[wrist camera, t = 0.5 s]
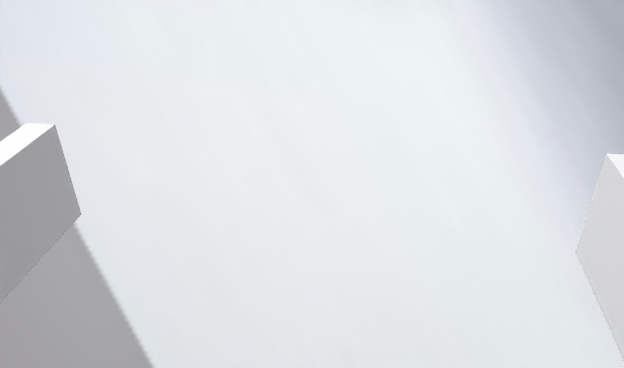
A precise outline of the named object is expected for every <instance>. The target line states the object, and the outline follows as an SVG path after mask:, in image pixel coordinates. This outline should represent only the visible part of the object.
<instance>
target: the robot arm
mask: <svg viewBox="0 0 624 368" xmlns="http://www.w3.org/2000/svg"><path fill="white" fill-rule="evenodd" d="M80 215H81V212H80V208H79V205H78V202H77V198H76V195H75V191H74V188H73V185H72V181H71V178H70V174H69V171H68V167H67V164H66V161H65V157H64V154H63V150H62V147H61V144H60V140H59V137H58V133H57V130H56V126H55V124H37V123H26V124H25V125H23V126H22V127H21V128H19V129H18V130H16V131H15V132H14V133H12V134H11V135H9V136H8V137H6V138H5V139H3V140H2V141H1V142H0V303H1V302H2V301H3V300H4V299H5V298H6V297H7V296H8V294H9V293H10V292H11V291H12V290H13V289H14V288H15V287H16V286H17V284H18V283H19V282H20V281H21V280H22V279H23V278H24V276H26V275H27V274H28V272H29V271H30V270H31V269H32V268H33V267H34V266H35V265H36V264H37V263H38V261H39V260H40V259H41V258H42V257H43V256H44V255H45V254H46V253H47V251H48V250H49V249H50V248H51V247H52V246H53V245H54V244H55V243H56V242H57V240H58V239H59V238H60V237H61V236H62V235H63V234H64V233H65V232H66V231H67V229H68V228H69V227H70V226H71V225H72V224H73V223H74V222H75V221H76V220H77V218H78V217H79V216H80ZM576 254H577V256H578V259H579V261H580V263H581V265H582V268H583V270H584V272H585V274H586V277H587V279H588V281H589V283H590V286H591V288H592V290H593V292H594V295H595V297H596V299H597V301H598V304H599V306H600V308H601V310H602V312H603V315H604V317H605V319H606V321H607V324H608V326H609V328H610V330H611V333H612V335H613V337H614V339H615V342H616V344H617V346H618V348H619V351H620V353H621V355H622V357H623V359H624V154H606V156H605V160H604V163H603V166H602V169H601V172H600V175H599V179H598V182H597V185H596V188H595V191H594V195H593V198H592V201H591V204H590V207H589V210H588V214H587V217H586V220H585V223H584V226H583V229H582V233H581V236H580V239H579V242H578V245H577V249H576Z"/></svg>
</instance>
